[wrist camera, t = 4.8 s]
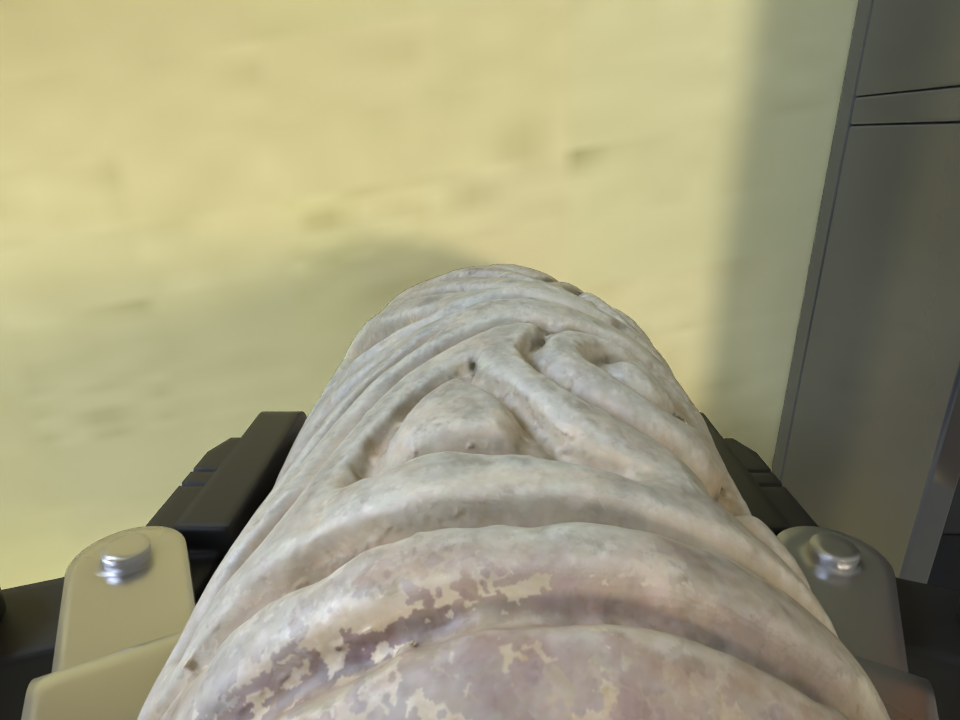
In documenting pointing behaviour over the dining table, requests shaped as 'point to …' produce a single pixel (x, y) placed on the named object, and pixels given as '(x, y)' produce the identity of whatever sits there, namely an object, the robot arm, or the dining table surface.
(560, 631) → the carving
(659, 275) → the dining table surface
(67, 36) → the dining table surface
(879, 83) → the storage box with compartments
